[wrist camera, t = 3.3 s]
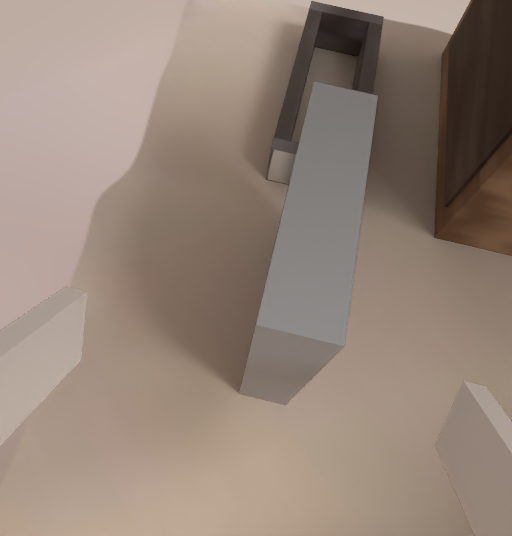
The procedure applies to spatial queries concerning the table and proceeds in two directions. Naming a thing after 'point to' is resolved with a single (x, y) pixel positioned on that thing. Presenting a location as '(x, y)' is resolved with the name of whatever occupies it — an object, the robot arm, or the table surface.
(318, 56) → the table surface
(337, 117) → the door
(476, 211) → the cabinet
